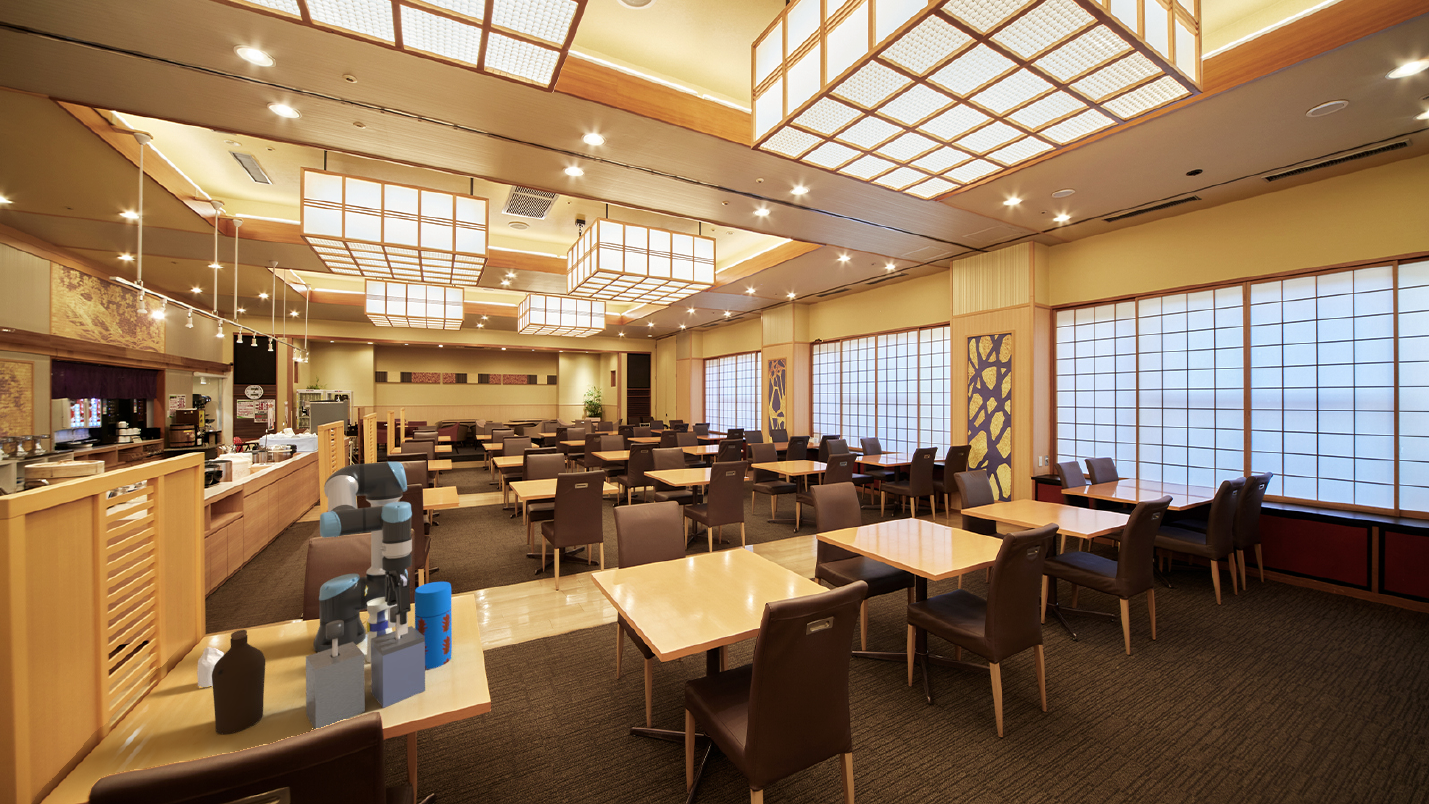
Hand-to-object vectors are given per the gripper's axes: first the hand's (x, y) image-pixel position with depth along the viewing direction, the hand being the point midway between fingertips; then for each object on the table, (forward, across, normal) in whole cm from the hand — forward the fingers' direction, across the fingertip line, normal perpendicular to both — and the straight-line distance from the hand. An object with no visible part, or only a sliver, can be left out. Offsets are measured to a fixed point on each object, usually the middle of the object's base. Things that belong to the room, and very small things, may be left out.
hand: (397, 630), depth 150 cm
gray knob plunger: (+13, 0, 0) cm, 13 cm away
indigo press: (+19, -2, 0) cm, 19 cm away
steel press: (+19, -4, -15) cm, 24 cm away
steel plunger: (+13, -2, -15) cm, 20 cm away
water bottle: (+19, -28, +3) cm, 34 cm away
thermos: (+19, -11, +14) cm, 26 cm away
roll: (+19, -50, -36) cm, 64 cm away
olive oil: (+19, -17, -33) cm, 42 cm away
